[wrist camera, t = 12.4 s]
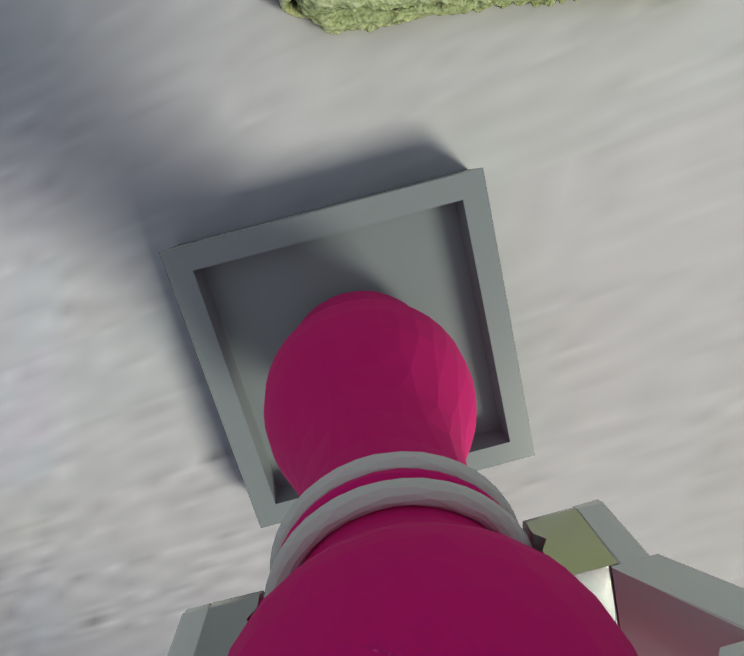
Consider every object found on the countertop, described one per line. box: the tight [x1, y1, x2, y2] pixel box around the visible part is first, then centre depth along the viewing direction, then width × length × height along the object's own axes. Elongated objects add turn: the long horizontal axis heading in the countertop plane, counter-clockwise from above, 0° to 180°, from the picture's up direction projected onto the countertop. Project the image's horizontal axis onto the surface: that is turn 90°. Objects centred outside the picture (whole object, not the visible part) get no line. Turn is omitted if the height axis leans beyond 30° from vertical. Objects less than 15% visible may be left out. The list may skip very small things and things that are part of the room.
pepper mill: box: [227, 291, 638, 656], centre depth 12 cm, size 7×7×20 cm
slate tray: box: [159, 168, 535, 528], centre depth 23 cm, size 13×13×2 cm
